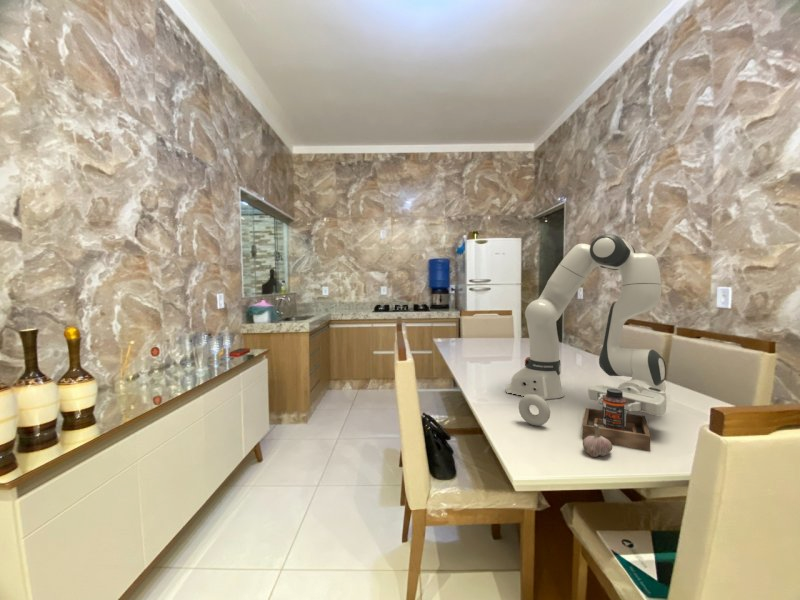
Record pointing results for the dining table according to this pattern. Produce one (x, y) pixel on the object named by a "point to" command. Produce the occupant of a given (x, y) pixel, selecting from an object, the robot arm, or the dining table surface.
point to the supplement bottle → (614, 410)
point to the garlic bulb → (597, 444)
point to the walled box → (630, 437)
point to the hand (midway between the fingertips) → (613, 404)
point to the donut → (540, 404)
